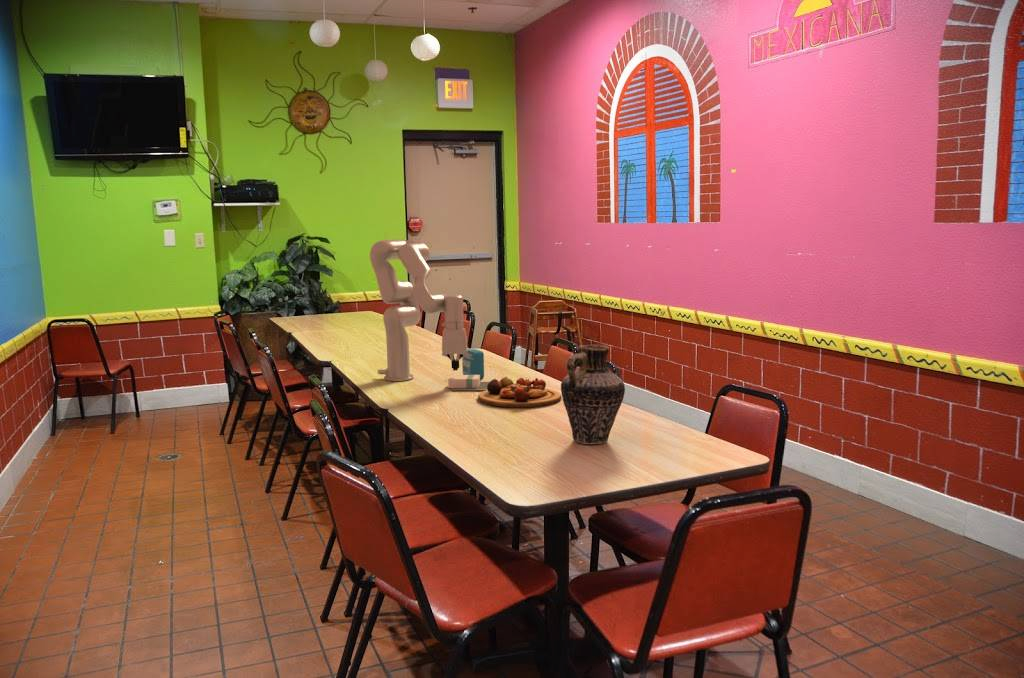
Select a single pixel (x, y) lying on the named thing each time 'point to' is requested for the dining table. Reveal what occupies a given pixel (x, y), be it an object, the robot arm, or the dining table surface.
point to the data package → (473, 363)
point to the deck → (464, 381)
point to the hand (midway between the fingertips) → (455, 369)
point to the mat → (481, 388)
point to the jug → (591, 395)
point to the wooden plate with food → (518, 393)
